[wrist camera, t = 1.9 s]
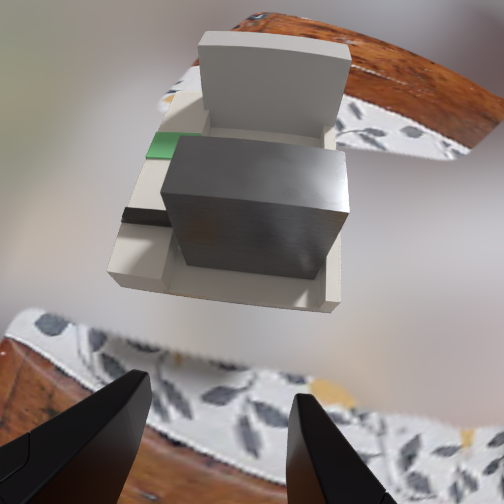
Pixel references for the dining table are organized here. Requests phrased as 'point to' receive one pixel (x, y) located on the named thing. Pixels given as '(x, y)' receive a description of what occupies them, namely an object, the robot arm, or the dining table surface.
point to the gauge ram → (252, 205)
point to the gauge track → (241, 127)
